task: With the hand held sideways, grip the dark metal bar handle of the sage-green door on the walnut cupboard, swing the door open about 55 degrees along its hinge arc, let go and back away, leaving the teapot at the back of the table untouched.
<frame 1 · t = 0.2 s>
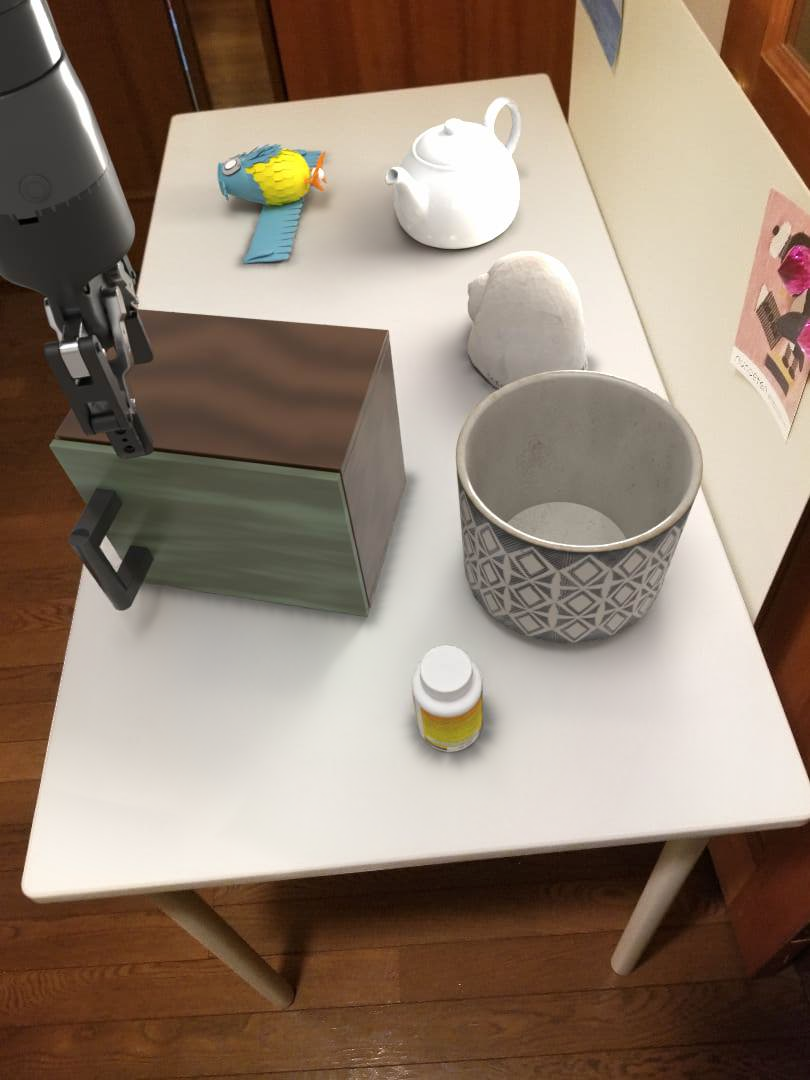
hand: (138, 405, 52), 29 cm above the table, tool pointing down, fingers open, 8 cm apart
supplement bottle: (450, 723, 69), on the table
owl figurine: (279, 206, 118), on the table
planter: (560, 569, 77), on the table
cupboard door: (210, 562, 68), point 10 cm above the table, hinge at 0.0°
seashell: (525, 350, 96), on the table
cupboard: (276, 525, 83), on the table
teapot: (458, 218, 113), on the table
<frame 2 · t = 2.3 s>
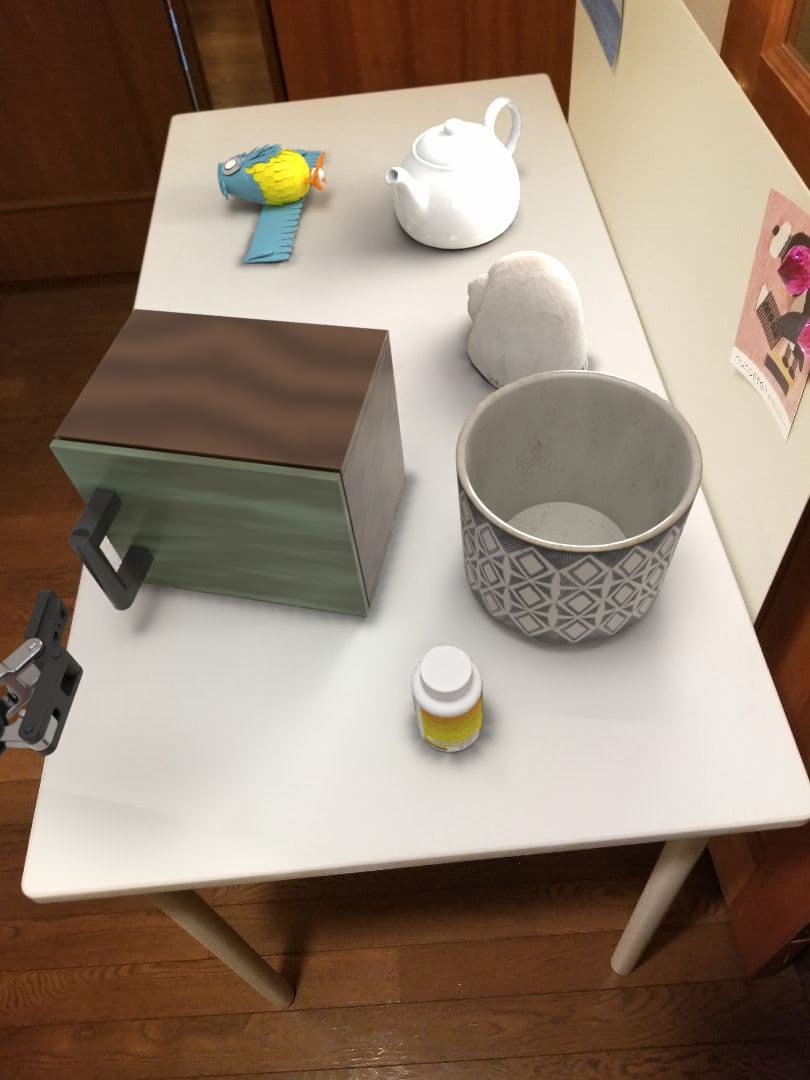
nothing on the table moved.
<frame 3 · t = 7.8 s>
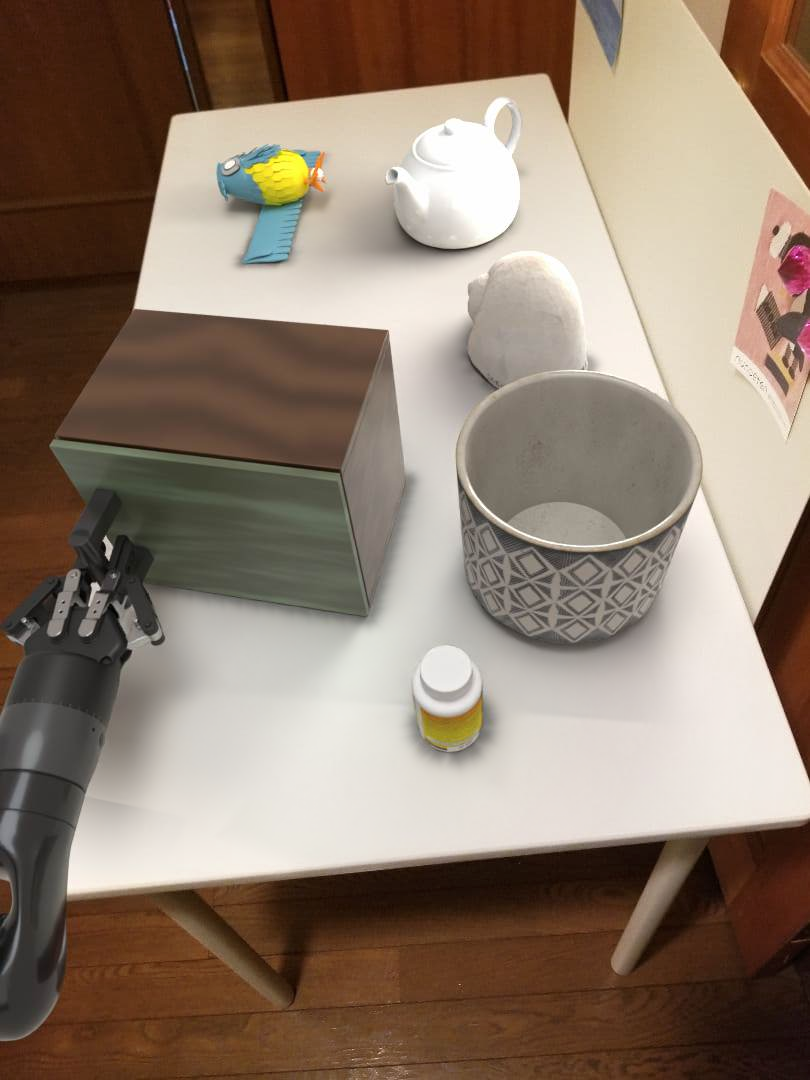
hand: (111, 541, 71), 10 cm above the table, tool horizontal, fingers closed on cupboard door, 2 cm apart
cupboard door: (210, 562, 68), point 10 cm above the table, hinge at 0.0°, touching gripper
everything else where it was.
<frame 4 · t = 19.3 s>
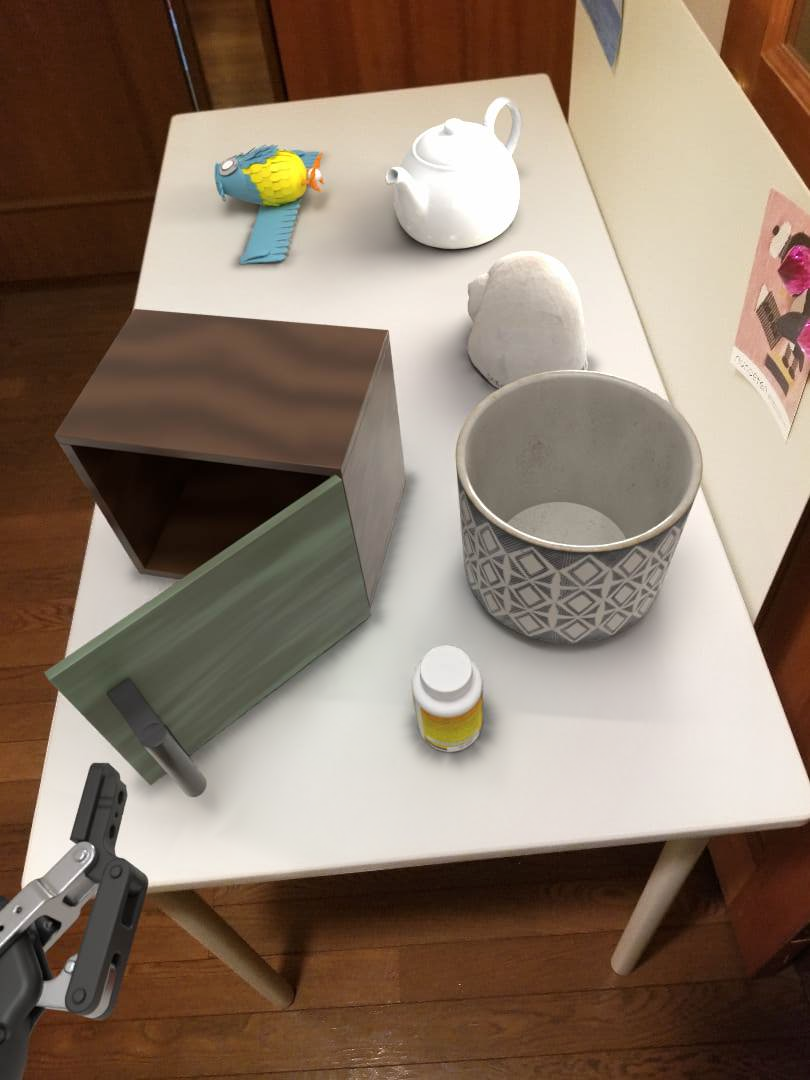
hand: (23, 766, 39), 28 cm above the table, tool horizontal, fingers open, 8 cm apart
cupboard door: (258, 663, 62), point 10 cm above the table, hinge at 53.1°
everything else where it was.
at the end: cupboard door at +53° (first picture: +0°); the gripper is holding nothing; teapot moved 0.2 cm from its start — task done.
